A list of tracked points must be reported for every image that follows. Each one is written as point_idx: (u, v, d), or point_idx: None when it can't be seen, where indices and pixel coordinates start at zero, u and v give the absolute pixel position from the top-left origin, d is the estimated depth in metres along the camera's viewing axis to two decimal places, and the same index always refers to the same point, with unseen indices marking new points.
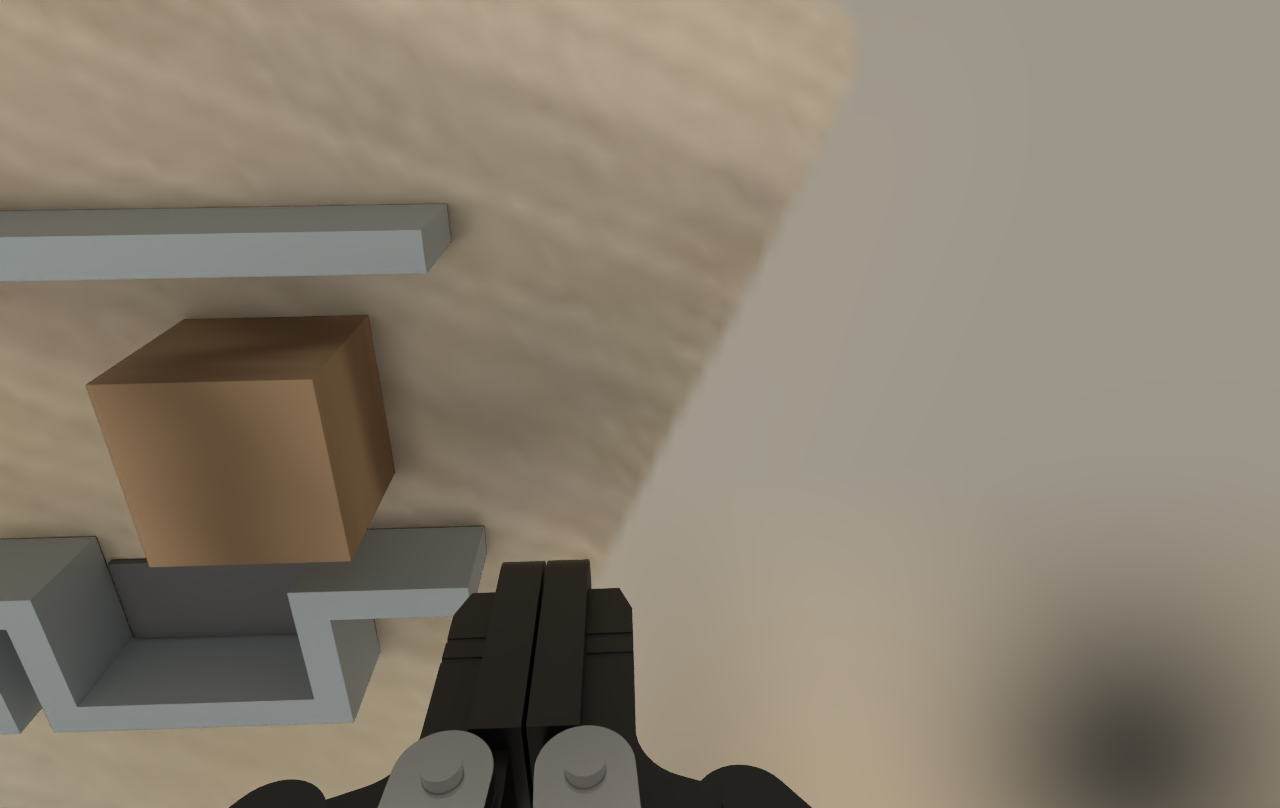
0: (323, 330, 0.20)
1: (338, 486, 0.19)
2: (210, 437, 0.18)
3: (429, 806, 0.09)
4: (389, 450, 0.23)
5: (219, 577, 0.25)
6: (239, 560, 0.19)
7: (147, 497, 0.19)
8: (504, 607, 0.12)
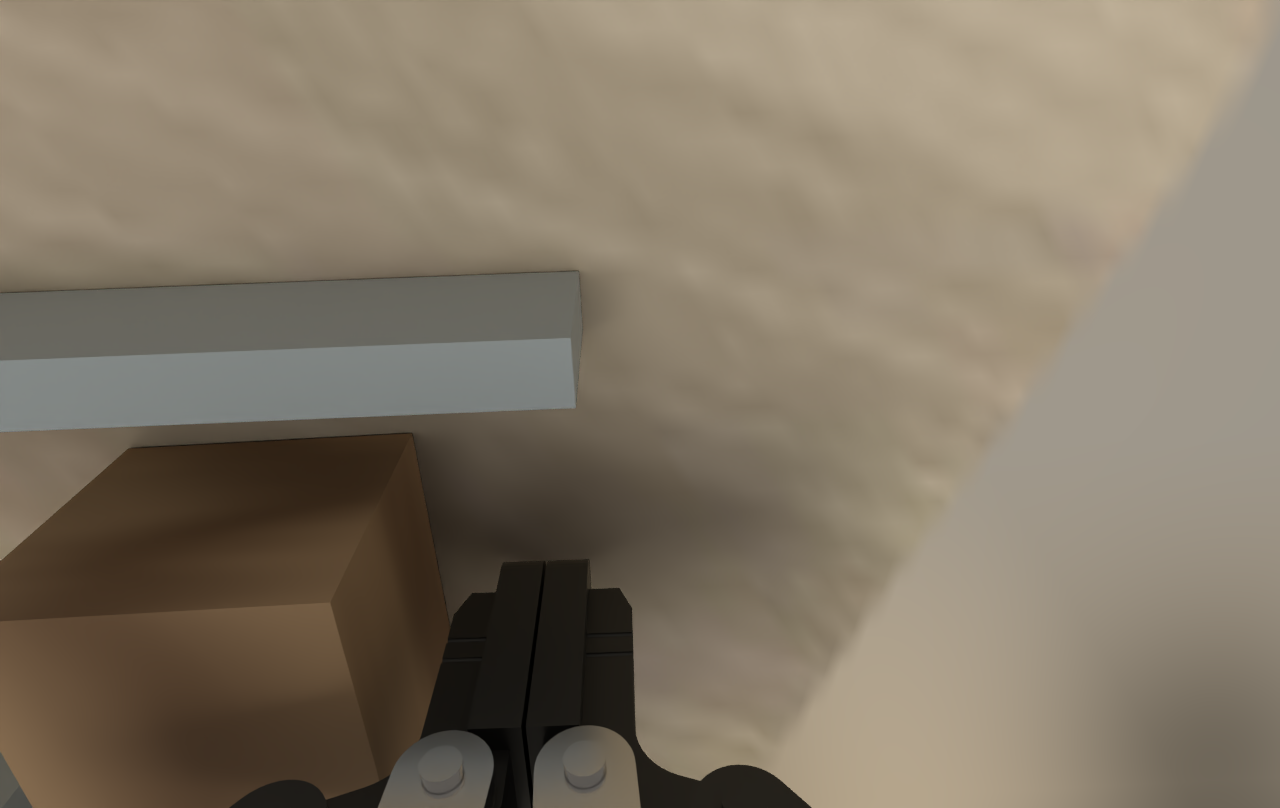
0: (343, 472, 0.13)
1: (379, 751, 0.11)
2: (156, 695, 0.10)
3: (429, 806, 0.09)
4: (445, 625, 0.15)
5: None
6: None
7: (57, 785, 0.11)
8: (504, 607, 0.12)
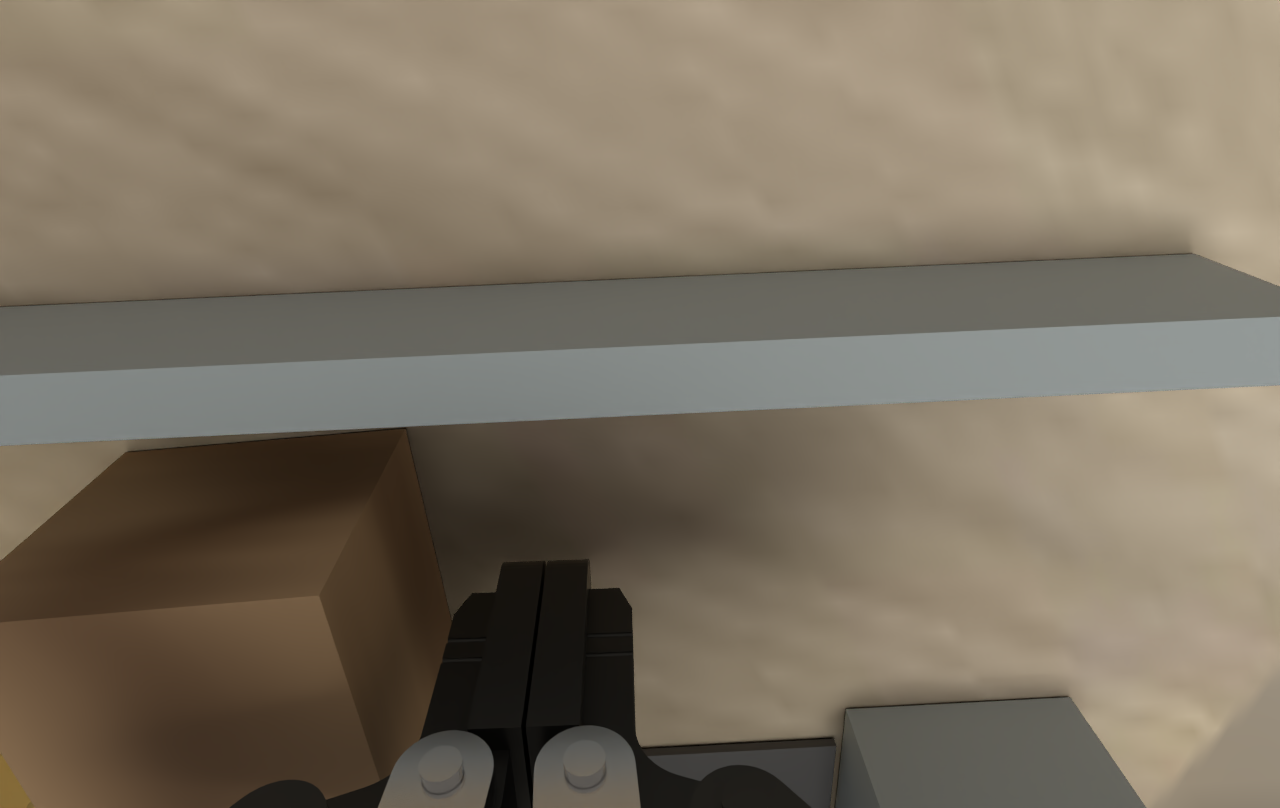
0: (336, 469, 0.13)
1: (377, 746, 0.11)
2: (152, 694, 0.10)
3: (429, 806, 0.09)
4: (447, 621, 0.15)
5: (690, 773, 0.18)
6: None
7: (59, 786, 0.11)
8: (504, 607, 0.12)
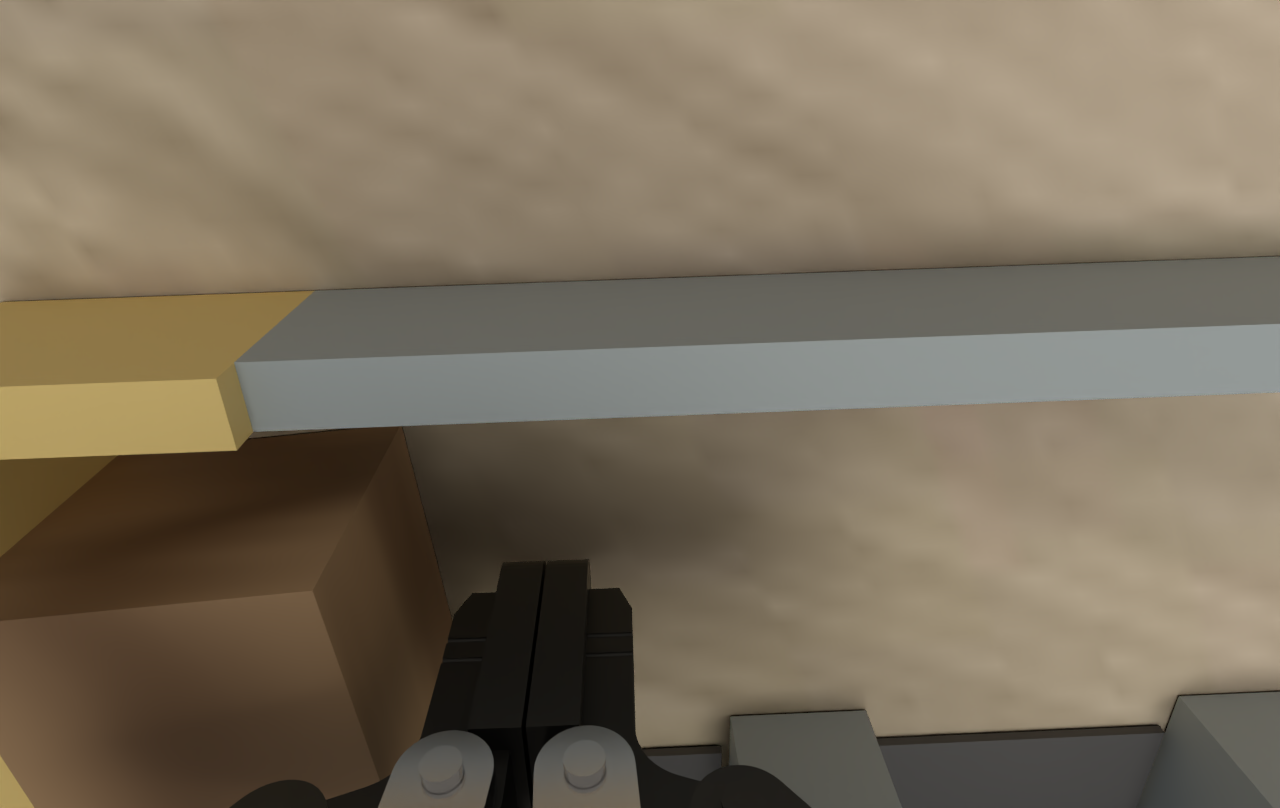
0: (331, 465, 0.13)
1: (375, 742, 0.11)
2: (148, 691, 0.10)
3: (429, 806, 0.09)
4: (446, 617, 0.15)
5: (1015, 759, 0.18)
6: None
7: (57, 786, 0.11)
8: (504, 607, 0.12)
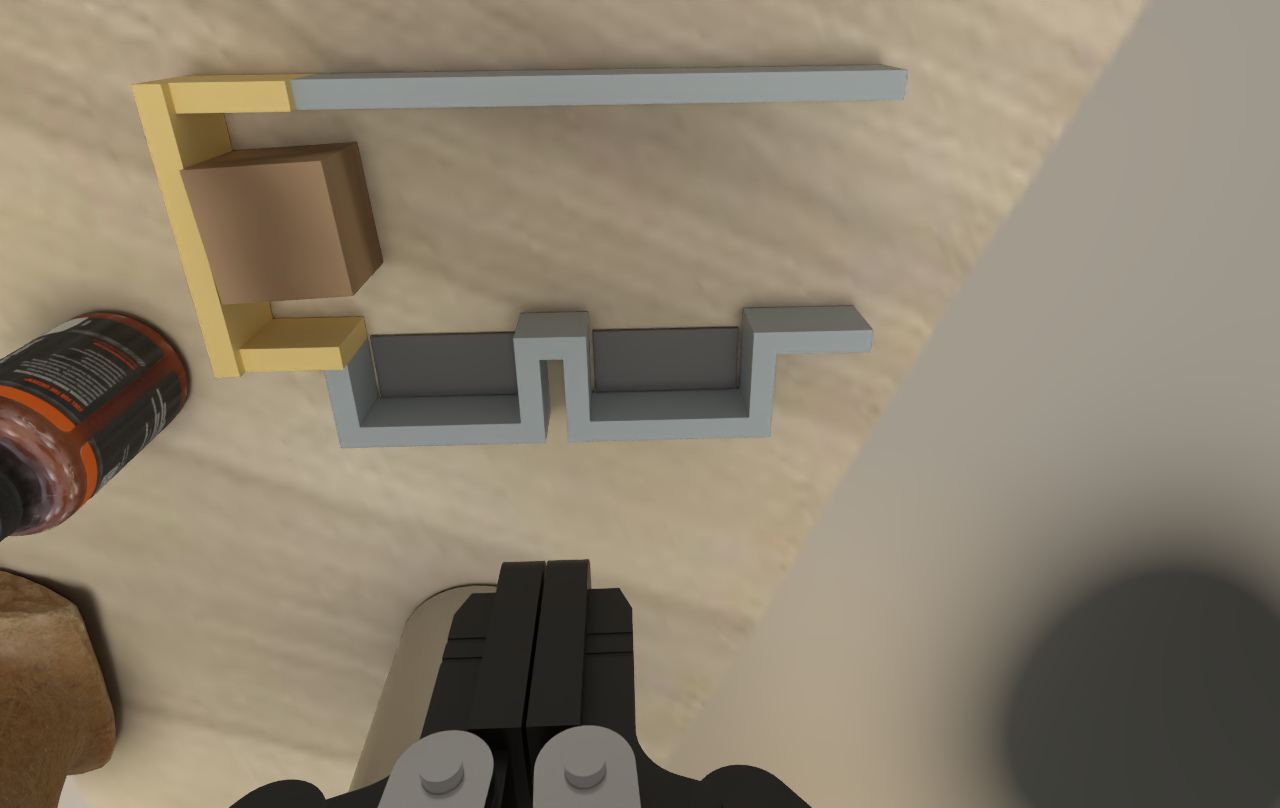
0: (327, 148, 0.30)
1: (341, 241, 0.29)
2: (258, 205, 0.28)
3: (429, 806, 0.09)
4: (378, 245, 0.33)
5: (666, 343, 0.35)
6: (280, 297, 0.30)
7: (219, 251, 0.29)
8: (504, 607, 0.12)
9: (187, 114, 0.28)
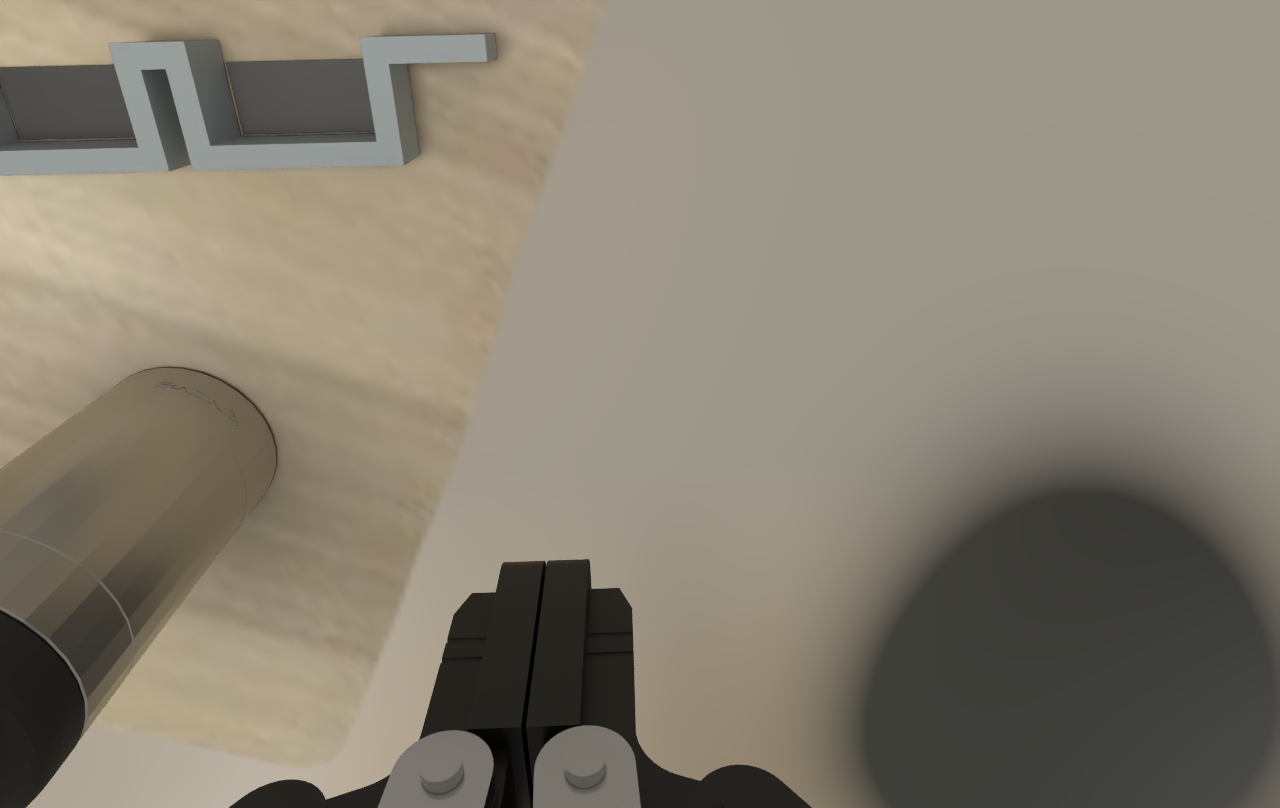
0: None
1: None
2: None
3: (429, 806, 0.09)
4: None
5: (305, 76, 0.34)
6: None
7: None
8: (504, 607, 0.12)
9: None
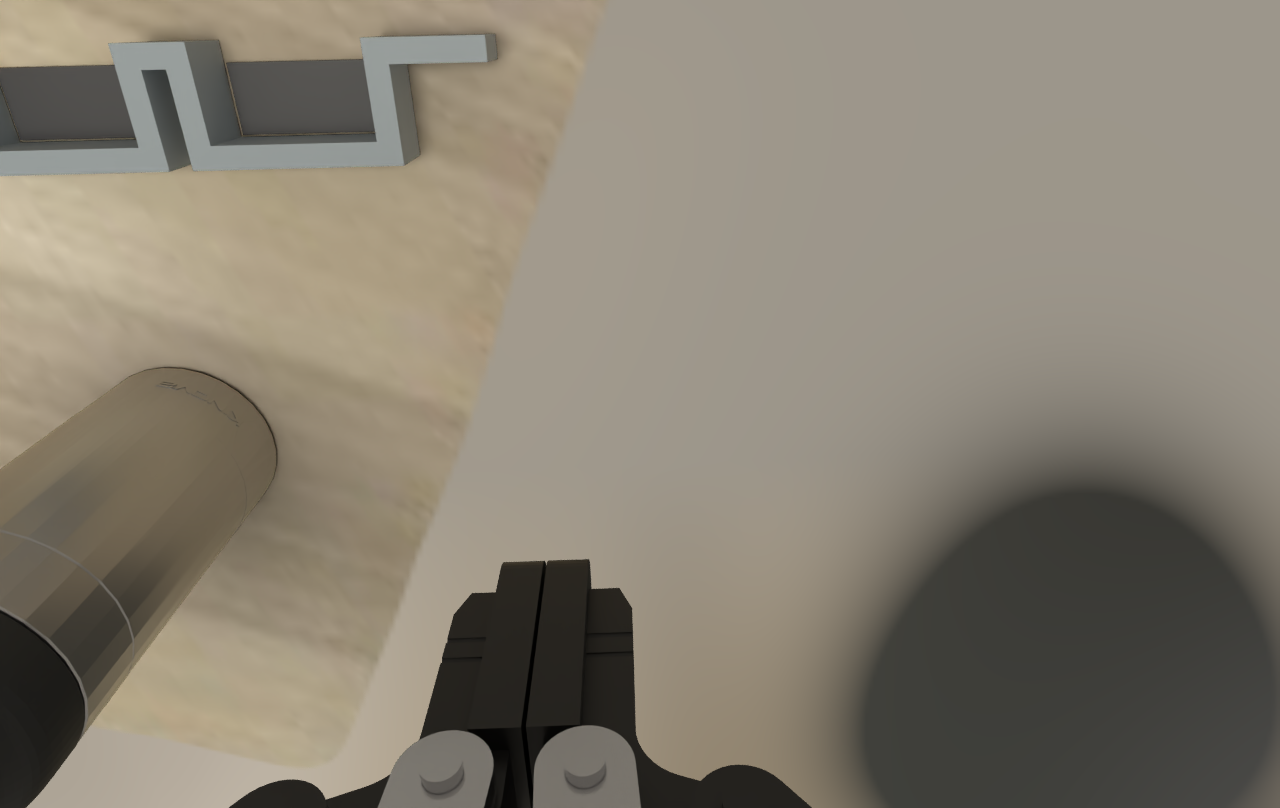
0: None
1: None
2: None
3: (429, 806, 0.09)
4: None
5: (305, 76, 0.34)
6: None
7: None
8: (504, 607, 0.12)
9: None
